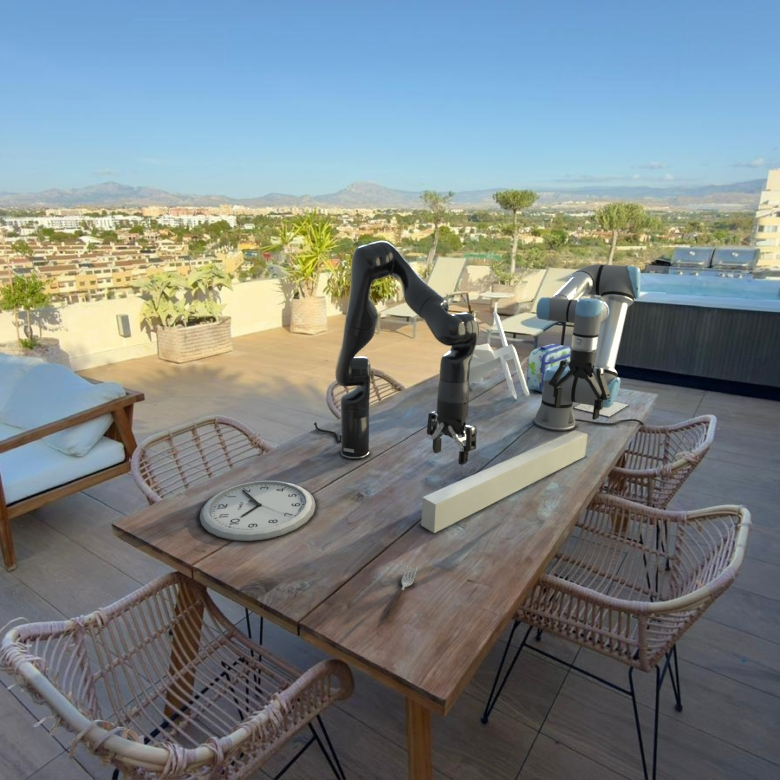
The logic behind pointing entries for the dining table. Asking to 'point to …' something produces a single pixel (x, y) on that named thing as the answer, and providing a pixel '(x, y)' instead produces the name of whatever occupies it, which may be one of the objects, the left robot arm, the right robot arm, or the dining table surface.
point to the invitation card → (604, 411)
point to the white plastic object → (496, 361)
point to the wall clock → (257, 510)
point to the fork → (405, 582)
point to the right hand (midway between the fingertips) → (575, 412)
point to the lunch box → (544, 363)
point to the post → (500, 481)
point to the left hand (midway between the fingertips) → (449, 458)
